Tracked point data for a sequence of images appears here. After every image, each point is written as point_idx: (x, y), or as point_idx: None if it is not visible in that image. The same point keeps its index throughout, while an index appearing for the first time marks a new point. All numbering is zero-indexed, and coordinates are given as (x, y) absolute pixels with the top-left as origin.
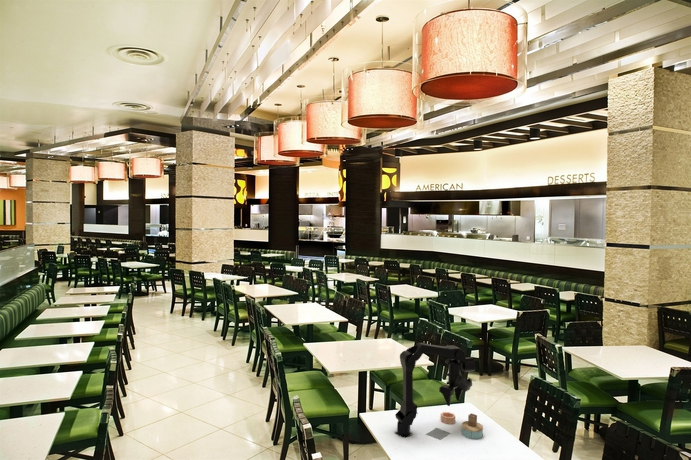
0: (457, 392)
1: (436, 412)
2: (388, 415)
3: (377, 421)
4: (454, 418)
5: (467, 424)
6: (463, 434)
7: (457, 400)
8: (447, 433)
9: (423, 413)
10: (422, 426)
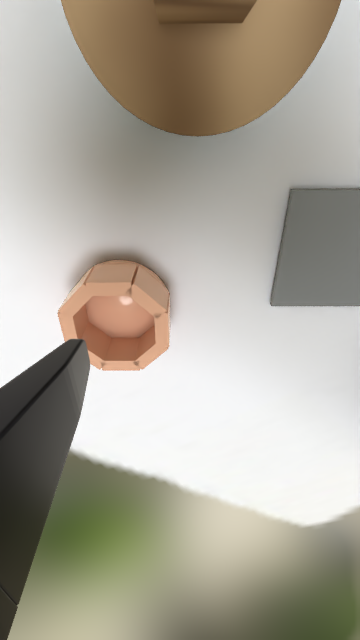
0: (18, 505)
1: None
2: (273, 487)
3: (355, 485)
4: (103, 276)
5: (217, 49)
6: None
7: (88, 357)
8: (318, 207)
9: (137, 427)
10: (288, 366)
